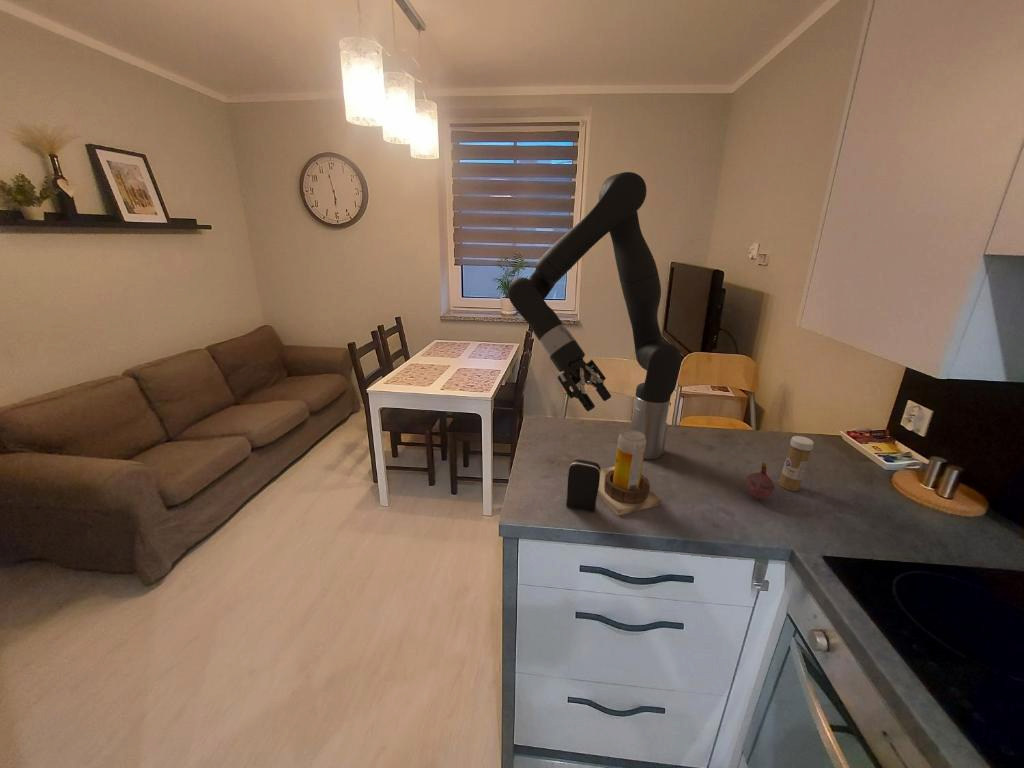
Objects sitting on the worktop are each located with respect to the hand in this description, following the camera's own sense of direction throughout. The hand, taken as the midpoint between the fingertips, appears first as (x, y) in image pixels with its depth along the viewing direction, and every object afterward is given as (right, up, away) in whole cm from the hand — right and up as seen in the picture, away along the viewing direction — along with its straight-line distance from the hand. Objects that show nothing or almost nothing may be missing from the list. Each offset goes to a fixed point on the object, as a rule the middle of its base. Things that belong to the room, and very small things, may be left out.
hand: (600, 404), depth 96 cm
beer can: (+6, -21, +1) cm, 22 cm away
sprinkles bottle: (+50, -22, +9) cm, 55 cm away
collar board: (+5, -22, +4) cm, 23 cm away
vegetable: (+38, -23, +3) cm, 45 cm away
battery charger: (-5, -24, -2) cm, 24 cm away
